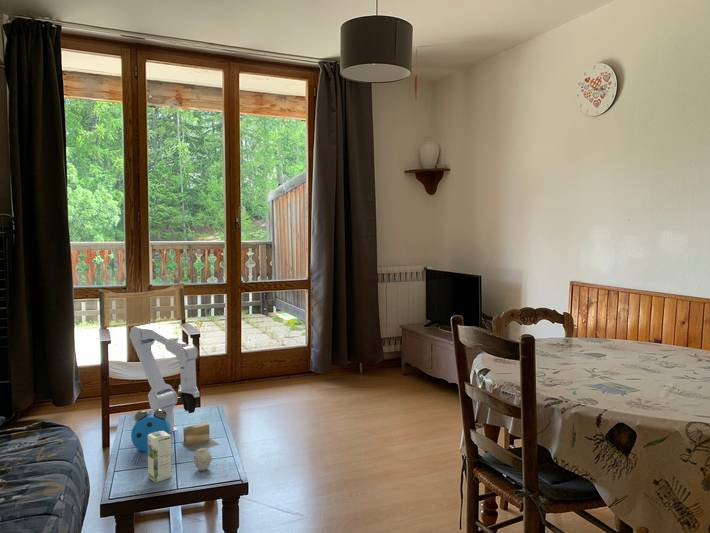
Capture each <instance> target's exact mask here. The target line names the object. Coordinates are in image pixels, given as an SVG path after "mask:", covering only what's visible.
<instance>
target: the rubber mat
mask: <svg viewBox="0 0 710 533" xmlns="http://www.w3.org/2000/svg"><path fill="white" fill-rule="evenodd" d="M180 444H181V445H183V446H184V447H185V448H187V449H188V450H190V451H191V452H192V453H196V451H197V450H198V449H201V448H203V449H204V448H207V449H210V448H211V447H216V446H219V445H220V443H218V442H216V441H215V440H213V439H212V438H210V440H206V441H203V442H199V443H195V444H192V445H188V446H187V445H185V444H184V441H180Z"/></svg>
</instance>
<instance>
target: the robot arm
mask: <svg viewBox="0 0 710 533" xmlns="http://www.w3.org/2000/svg"><path fill="white" fill-rule="evenodd" d="M129 338H130V341H131V343H132V346H133V348H134V349H135V352H136V354H137V357H138V359H139V361H140V364H141V367H142V369H143V371H144V373H145V376H146V379H147V380H148V384H149V386H150V388H151V389H150V391H149V392H148V394H147V398H148V401H149V407H150V409H151V411H152V412H155V410H157V409H163V410H164V411H166V413H167V419H168V420H169V422H170V426H171V432H170V433H172V432H176V431H178V430H179V429H178V428H176V427H175V422H174V421H175V419H174V418H175V417H174V415H175V414H174V408H175V407H176V405H177V403H178V400H179V399H178V398H180V400H181V401H182V405H183V410H184V411H185V412H188V414H192V413H195V411H196V406H197V402H198V399H199V398H200V397H201V396H200V391H199V390H198V387H197V369H196V368H197V366H196V360H197V358H199V349H198V347H197V346H196V345H195V344H187V343H186V342H184V341H182V340H181V339H179V337H177V336H172V337H170V336H169V335H168V334H166V333H165V332H164V331H162V330H161V329H160V326H159V325H157V324H156V323H155V322H151V323H148V324H141V325H133V326H132V327H131V329H130V332H129ZM155 341H157V342H158V343H160V344H162V345H164V348H165V350H166V351H167V352H170V353H171V354H173V355H174V356H175V358H176V360H177V362H178V366H179V371H180V372H179V373H180V384H178V391H177V392H178V394H177V392H176V391H175V390H174V388H173V386H172V385H170V384H168V383H166V382H165V380H164V378H163V375H162V372H161V371H160V369H159V366H158V363H157V361H156V359H155V356H154V355H153V351H152V350H151V347H152V346H153V345H154V344H155Z"/></svg>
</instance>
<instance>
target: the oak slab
mask: <svg viewBox="0 0 710 533" xmlns="http://www.w3.org/2000/svg"><path fill="white" fill-rule="evenodd" d="M210 437H211V436H210V423H208V422H206V421H205V422H200V423H197V424H193V425H190V426H185V427H183V442H184V444H185V445H187V446H188V445H192V444H195V443H199V442H203V441H206V440H210V439H211V438H210Z"/></svg>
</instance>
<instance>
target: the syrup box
mask: <svg viewBox="0 0 710 533" xmlns="http://www.w3.org/2000/svg"><path fill="white" fill-rule="evenodd" d="M147 473H148V474H147V475H148V479H150V480H151V481H153V483H159V482H162V481H165V480H167V479H171V478H172V475H173V474H172V435H171V434H170V435H169V434H168V433H166V432H165V431H158V432H154V433H151V434H148V452H147Z"/></svg>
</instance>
